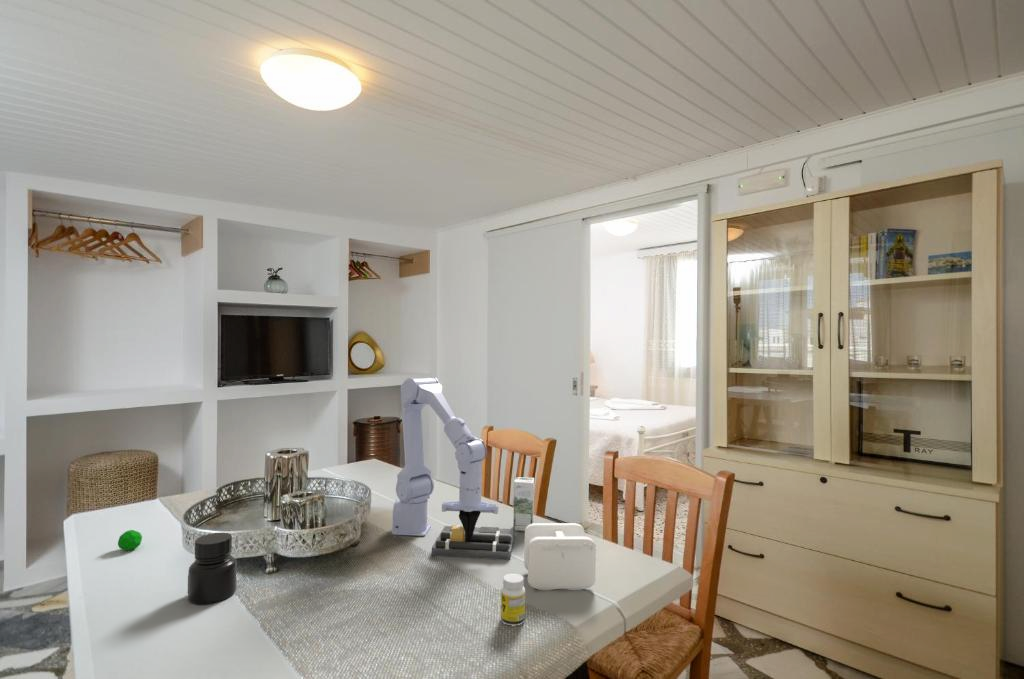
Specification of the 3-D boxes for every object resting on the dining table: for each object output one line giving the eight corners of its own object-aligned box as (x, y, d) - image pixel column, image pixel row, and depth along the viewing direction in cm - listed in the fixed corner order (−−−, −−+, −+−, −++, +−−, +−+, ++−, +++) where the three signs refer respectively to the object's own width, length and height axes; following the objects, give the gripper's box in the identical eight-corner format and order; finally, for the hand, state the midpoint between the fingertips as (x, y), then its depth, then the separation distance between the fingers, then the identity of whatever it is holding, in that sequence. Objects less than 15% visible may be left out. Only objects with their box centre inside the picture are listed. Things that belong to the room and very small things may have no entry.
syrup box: (533, 525, 156) (534, 476, 156) (532, 532, 150) (533, 482, 150) (514, 524, 156) (515, 476, 156) (512, 531, 151) (513, 481, 151)
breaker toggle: (451, 544, 134) (451, 528, 134) (453, 540, 137) (453, 524, 137) (462, 545, 134) (462, 528, 134) (464, 540, 137) (464, 524, 137)
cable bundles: (435, 548, 132) (435, 541, 132) (443, 535, 142) (443, 528, 142) (509, 552, 130) (509, 545, 130) (512, 538, 140) (512, 531, 140)
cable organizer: (586, 571, 125) (587, 522, 125) (595, 592, 115) (596, 539, 115) (523, 571, 124) (524, 522, 124) (527, 593, 114) (528, 539, 114)
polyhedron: (113, 551, 132) (114, 532, 133) (135, 544, 137) (135, 526, 137) (124, 555, 130) (124, 536, 130) (145, 548, 134) (146, 529, 135)
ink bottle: (227, 581, 117) (228, 527, 117) (245, 593, 112) (246, 537, 112) (178, 596, 110) (180, 539, 110) (195, 611, 104) (196, 550, 104)
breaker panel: (431, 555, 133) (431, 544, 133) (444, 533, 149) (445, 523, 149) (510, 559, 131) (510, 548, 131) (515, 536, 147) (515, 526, 147)
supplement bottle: (499, 614, 104) (500, 572, 105) (523, 614, 105) (524, 572, 105) (501, 627, 100) (502, 583, 100) (526, 627, 100) (526, 583, 100)
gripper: (439, 490, 132) (438, 544, 132) (496, 492, 131) (495, 547, 131) (445, 482, 139) (444, 534, 139) (499, 485, 138) (498, 536, 138)
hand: (469, 539), depth 135 cm, fingers closed
